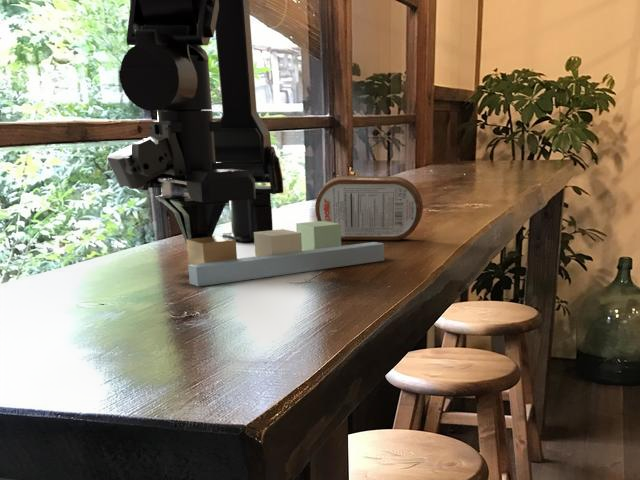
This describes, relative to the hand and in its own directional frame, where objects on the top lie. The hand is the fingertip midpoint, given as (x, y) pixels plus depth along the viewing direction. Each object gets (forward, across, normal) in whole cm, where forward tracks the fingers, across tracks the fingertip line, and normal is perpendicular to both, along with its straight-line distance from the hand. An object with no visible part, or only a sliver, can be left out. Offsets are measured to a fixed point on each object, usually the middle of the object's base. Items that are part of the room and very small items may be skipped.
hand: (197, 261), depth 92 cm
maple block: (+1, +4, 0) cm, 4 cm away
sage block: (+1, 0, +17) cm, 17 cm away
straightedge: (+1, +7, +9) cm, 11 cm away
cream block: (+1, +4, +9) cm, 9 cm away
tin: (+1, -8, +30) cm, 31 cm away
